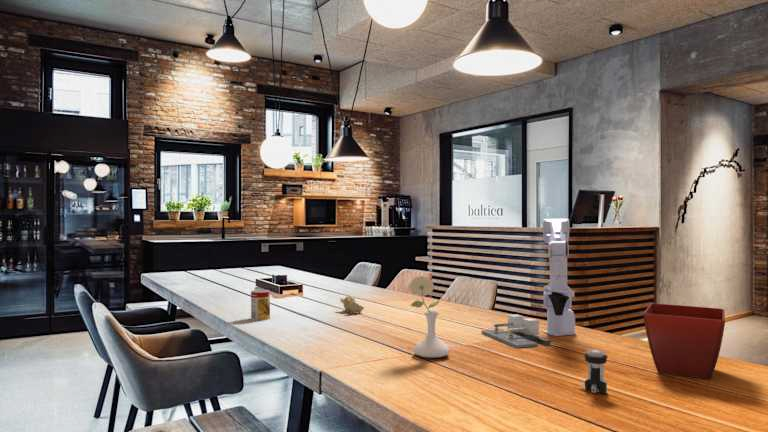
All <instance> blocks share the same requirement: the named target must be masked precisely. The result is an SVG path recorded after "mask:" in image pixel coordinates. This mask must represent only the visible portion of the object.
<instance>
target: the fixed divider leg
mask: <svg viewBox="0 0 768 432" xmlns="http://www.w3.org/2000/svg"><path fill="white" fill-rule="evenodd" d="M523 319H524V315H521V314H518V313H516V314H507V322H499V323H492V324H493V325H492V326H493V327H494V330H496V331H498V329H499V327H508V329H514V328H523Z"/></svg>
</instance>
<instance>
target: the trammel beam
mask: <svg viewBox="0 0 768 432" xmlns="http://www.w3.org/2000/svg"><path fill="white" fill-rule="evenodd" d="M506 327H507V332H508V326H506ZM513 334H515V335H518V336H520V337H523V338H525V339H528V340H531V341H533V342H536V343H538V344H541V345H544V346H552V344H551V340H550V339H547V338H545V337H542V336H539V335H527V334H524V333H523V331H522V332H513Z"/></svg>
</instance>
